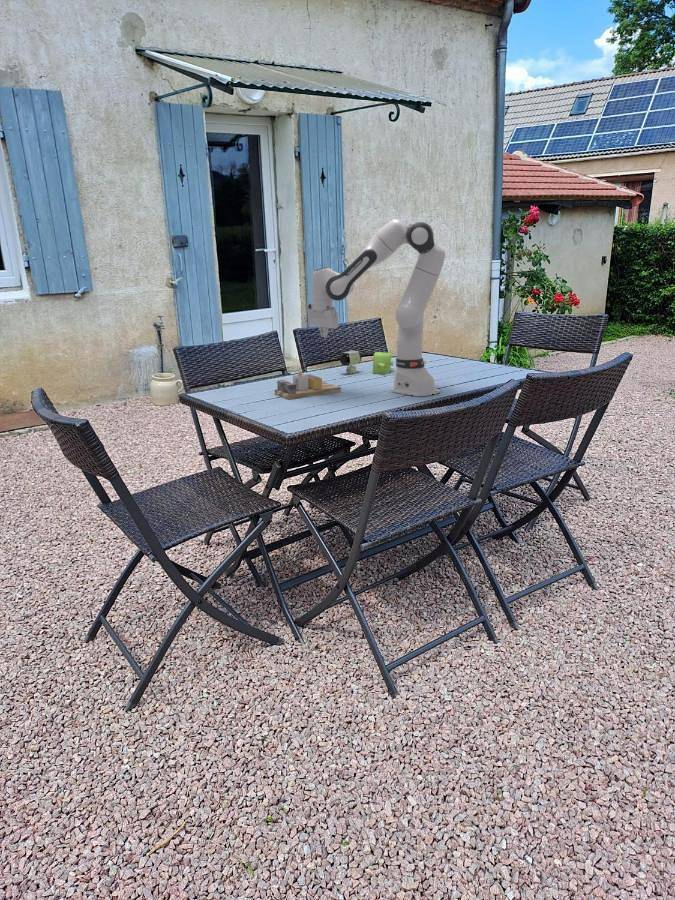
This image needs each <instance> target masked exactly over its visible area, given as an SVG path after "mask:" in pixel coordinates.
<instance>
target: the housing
mask: <svg viewBox="0 0 675 900" xmlns="http://www.w3.org/2000/svg"><path fill="white" fill-rule="evenodd" d="M297 373H298V374H294V375H293V374H292V383H293V384H296V390H298V391H300V390H307V389H309V385H308V376H307V374H304V373H303V371H302V370H298V372H297Z"/></svg>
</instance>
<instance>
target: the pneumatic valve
mask: <svg viewBox="0 0 675 900" xmlns="http://www.w3.org/2000/svg"><path fill="white" fill-rule="evenodd" d="M362 358H363V357H362V353H361V351H360V350H353V349H349V351H344V352H343V351H342V352H341V355H340V356H339V361H340V363H341V366H346V367H345V368H346V369H345V372H346V374H349V375H351V374H352V373H353V374H356V373H357V372H356V371H357V366H355V365H359V364H361V362H362ZM353 374H352V375H353Z"/></svg>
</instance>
